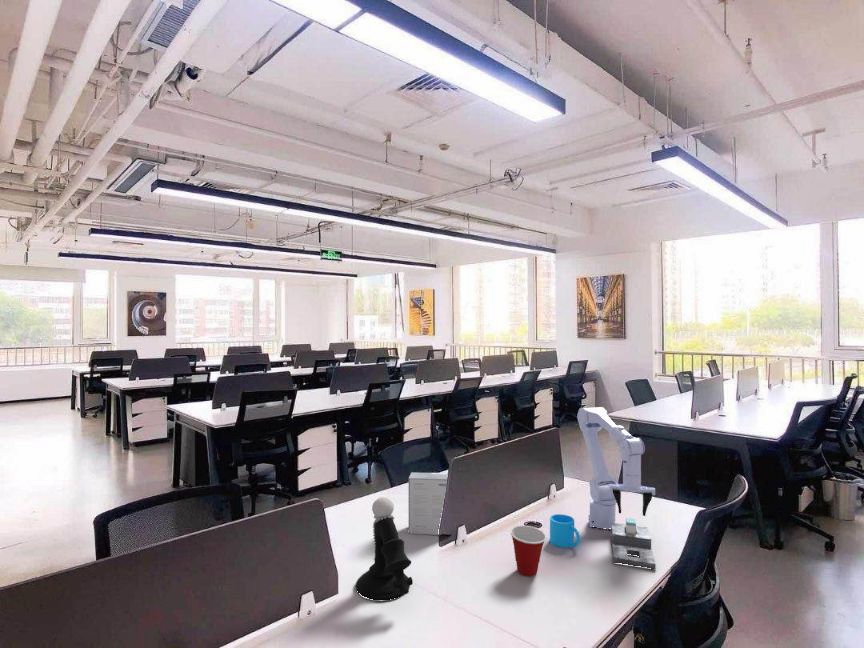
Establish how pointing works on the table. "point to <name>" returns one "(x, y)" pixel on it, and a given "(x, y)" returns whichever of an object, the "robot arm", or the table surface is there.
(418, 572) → the table surface
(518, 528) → the plastic cup
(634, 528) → the plug
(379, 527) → the sculpture
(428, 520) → the hard drive box
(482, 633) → the table surface
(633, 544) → the patch panel
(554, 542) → the mug
